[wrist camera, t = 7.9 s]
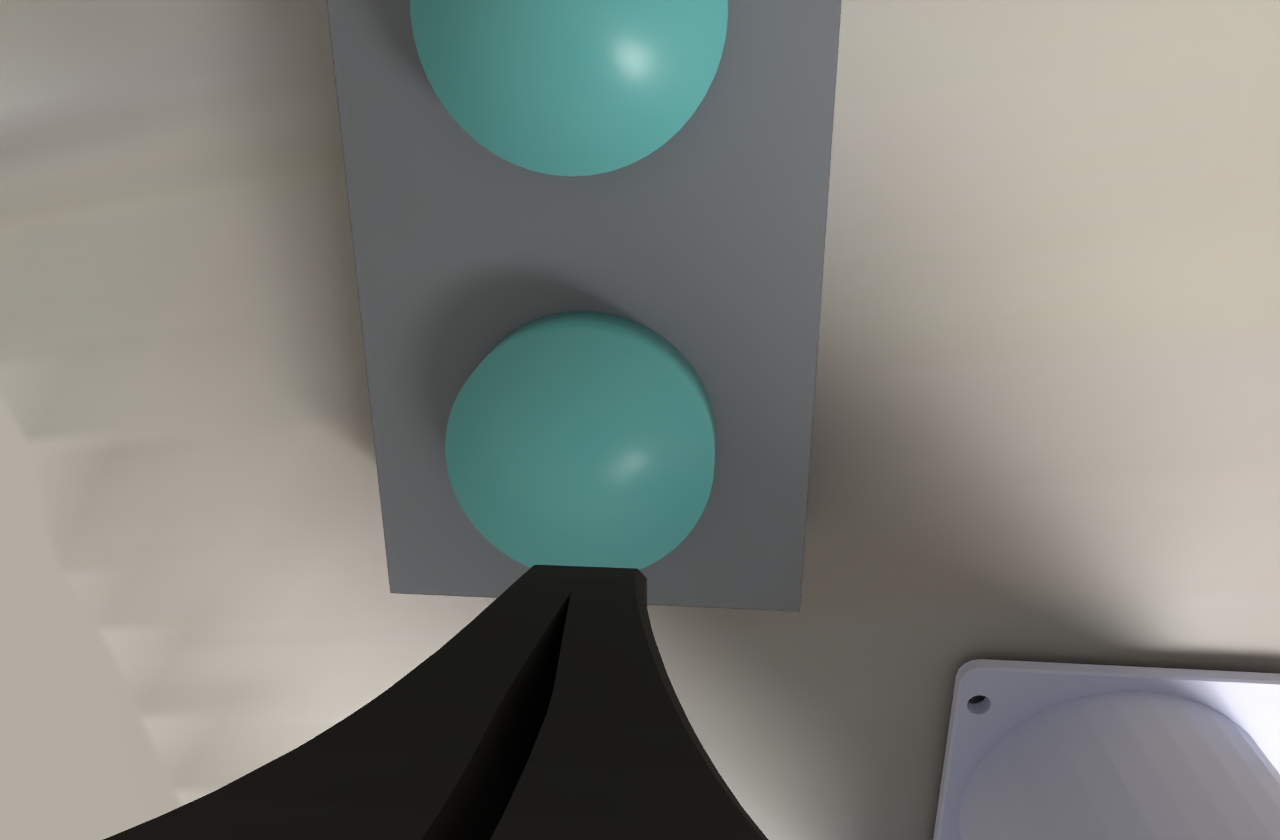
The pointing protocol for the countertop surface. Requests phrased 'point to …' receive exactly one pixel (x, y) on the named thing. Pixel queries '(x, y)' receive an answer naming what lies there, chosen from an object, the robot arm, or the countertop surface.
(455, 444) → the knob
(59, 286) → the countertop surface
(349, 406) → the countertop surface
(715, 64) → the knob
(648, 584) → the panel box
